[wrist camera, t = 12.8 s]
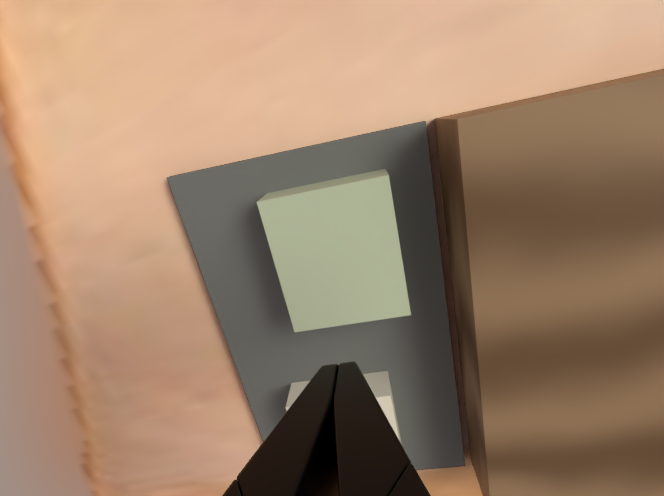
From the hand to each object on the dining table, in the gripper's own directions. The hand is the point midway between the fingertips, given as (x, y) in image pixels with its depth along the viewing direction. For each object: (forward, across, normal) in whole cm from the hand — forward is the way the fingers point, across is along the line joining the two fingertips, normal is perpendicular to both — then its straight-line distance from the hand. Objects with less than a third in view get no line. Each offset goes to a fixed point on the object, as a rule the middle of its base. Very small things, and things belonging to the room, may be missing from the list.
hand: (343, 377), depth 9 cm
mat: (+11, +2, +6) cm, 13 cm away
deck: (+11, -10, +6) cm, 16 cm away
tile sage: (+8, +1, 0) cm, 8 cm away
